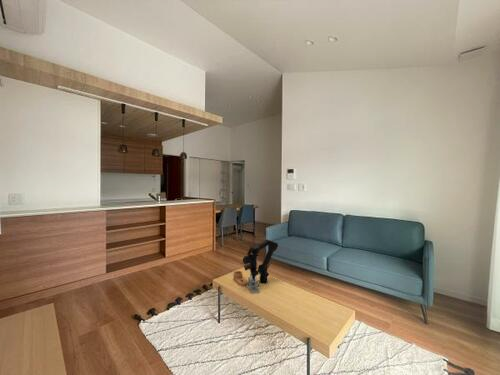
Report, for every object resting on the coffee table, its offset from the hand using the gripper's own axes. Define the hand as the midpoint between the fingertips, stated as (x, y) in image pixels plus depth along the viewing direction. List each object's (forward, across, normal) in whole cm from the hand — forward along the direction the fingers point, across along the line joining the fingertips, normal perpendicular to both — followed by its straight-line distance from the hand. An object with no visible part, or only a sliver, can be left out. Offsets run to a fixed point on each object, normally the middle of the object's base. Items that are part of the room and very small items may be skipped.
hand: (253, 278), depth 189 cm
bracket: (+7, -8, -11) cm, 15 cm away
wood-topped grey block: (+5, 0, 0) cm, 5 cm away
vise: (+7, -1, 0) cm, 7 cm away
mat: (+7, +10, 0) cm, 12 cm away
